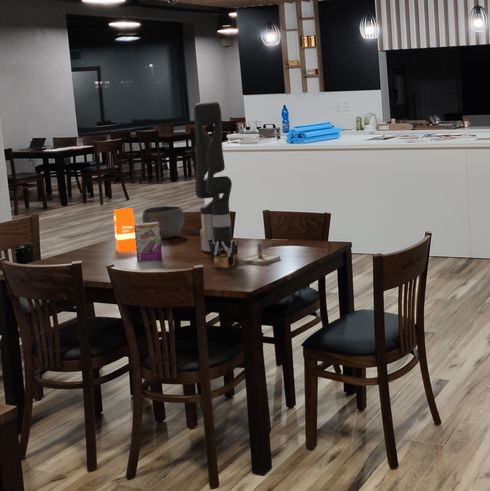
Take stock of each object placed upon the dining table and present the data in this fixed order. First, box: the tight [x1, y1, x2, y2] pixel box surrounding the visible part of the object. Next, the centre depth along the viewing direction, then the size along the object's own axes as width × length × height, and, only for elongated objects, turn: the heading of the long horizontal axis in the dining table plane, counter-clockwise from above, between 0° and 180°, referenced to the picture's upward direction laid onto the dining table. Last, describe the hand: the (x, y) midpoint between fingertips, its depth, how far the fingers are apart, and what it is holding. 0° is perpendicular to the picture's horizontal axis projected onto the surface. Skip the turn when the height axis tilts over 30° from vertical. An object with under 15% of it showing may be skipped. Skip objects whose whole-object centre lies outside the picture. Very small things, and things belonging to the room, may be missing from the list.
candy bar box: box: [134, 222, 163, 262], centre depth 381 cm, size 11×5×16 cm, turn 100°
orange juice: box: [113, 207, 136, 253], centre depth 407 cm, size 8×9×20 cm
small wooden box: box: [213, 254, 236, 269], centre depth 359 cm, size 6×6×4 cm
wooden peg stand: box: [240, 242, 281, 266], centre depth 362 cm, size 12×12×8 cm
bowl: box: [141, 205, 185, 240], centre depth 434 cm, size 21×21×15 cm
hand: (224, 264), depth 359 cm, fingers closed on small wooden box, 6 cm apart
